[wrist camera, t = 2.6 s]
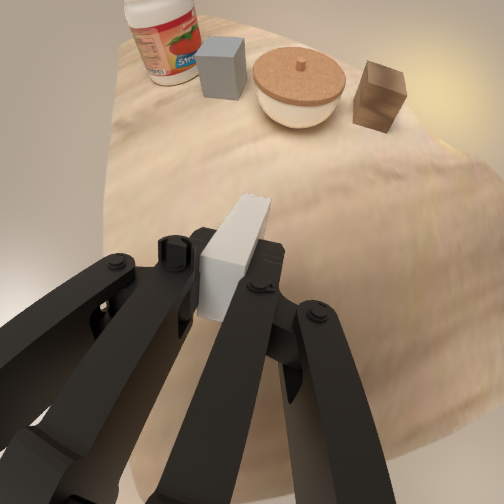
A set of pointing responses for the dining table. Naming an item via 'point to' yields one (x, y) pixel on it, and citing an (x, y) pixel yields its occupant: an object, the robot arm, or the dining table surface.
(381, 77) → the walnut block
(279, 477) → the dining table surface
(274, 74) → the lidded jar
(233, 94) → the grey block
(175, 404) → the dining table surface
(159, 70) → the fruit juice
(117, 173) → the dining table surface
